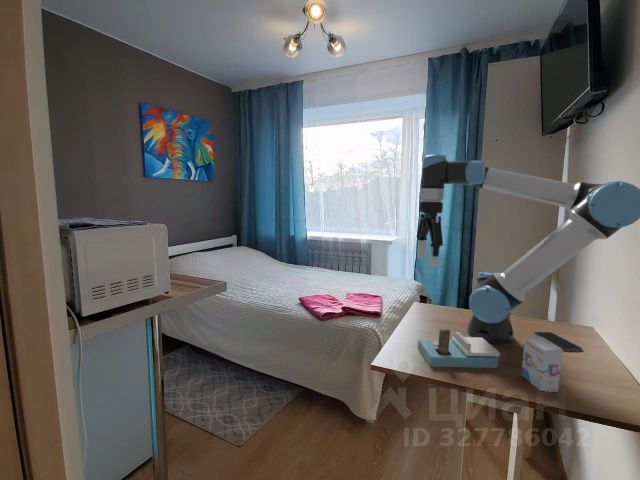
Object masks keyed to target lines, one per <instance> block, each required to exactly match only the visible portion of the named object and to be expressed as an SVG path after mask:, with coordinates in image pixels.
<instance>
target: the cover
mask: <svg viewBox="0 0 640 480" xmlns="http://www.w3.org/2000/svg"><path fill="white" fill-rule="evenodd" d="M451 340H452V341H453V342H454V343H455V344H456V345H457V346H458V347H459V348H460V350H461V351H462V352H463V353H464V354H465V355H466V356H496V357H500V356H501V352H499V351H498V350H497V349H496V348H495V347H494V346H492V345H491V344H490V342H487V341H486V340H484V339H483V338H482V337H473V336H463V335H462V334H461V332H459V331H454V335H453V336H451Z"/></svg>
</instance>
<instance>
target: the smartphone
mask: <svg viewBox="0 0 640 480" xmlns="http://www.w3.org/2000/svg"><path fill="white" fill-rule="evenodd" d="M533 334H534V335H535V336H536V337H538V336H539V337H543V338H545V339H546V340H548V341H550V342H551V343H553V344H555V345H556V346H558V347H559V348H561V349H562V350H563V352H583V348H582V347H580V346H579V345H577V344H575V343H573V342H571V341H569V340H567V339H565V338H564V337H561V336H559V335H557V334H555V333H553V332H552V331H551V332H550V331H535V332H534V331H533Z"/></svg>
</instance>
